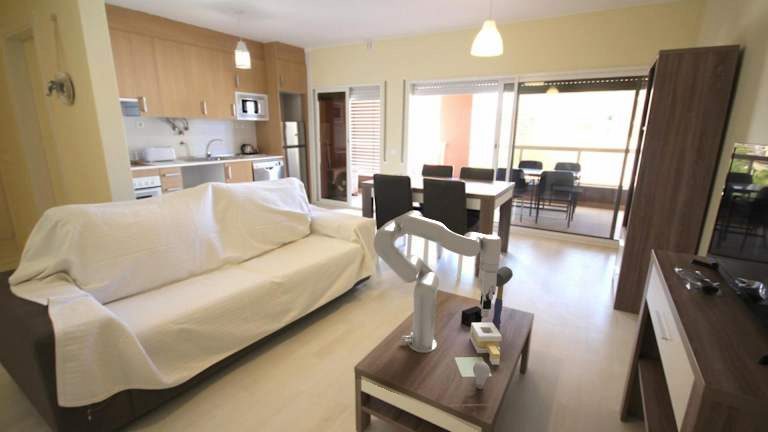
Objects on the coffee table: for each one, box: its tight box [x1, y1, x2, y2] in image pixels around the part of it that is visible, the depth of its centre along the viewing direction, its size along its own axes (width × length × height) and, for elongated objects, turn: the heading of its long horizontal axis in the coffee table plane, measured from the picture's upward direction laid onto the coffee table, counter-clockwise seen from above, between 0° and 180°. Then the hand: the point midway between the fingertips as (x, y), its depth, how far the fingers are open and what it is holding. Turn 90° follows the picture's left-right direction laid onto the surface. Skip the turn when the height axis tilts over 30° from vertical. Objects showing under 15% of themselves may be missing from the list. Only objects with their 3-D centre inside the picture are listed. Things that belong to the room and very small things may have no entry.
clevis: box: [469, 321, 503, 366], centre depth 154 cm, size 10×19×8 cm, turn 3°
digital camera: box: [460, 305, 484, 328], centre depth 178 cm, size 10×5×7 cm, turn 123°
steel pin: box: [481, 292, 490, 319], centre depth 146 cm, size 4×4×14 cm
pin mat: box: [454, 356, 492, 378], centre depth 145 cm, size 12×12×1 cm
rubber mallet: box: [491, 266, 514, 327], centre depth 173 cm, size 12×8×30 cm, turn 141°
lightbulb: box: [473, 361, 491, 390], centre depth 132 cm, size 6×6×11 cm
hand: (485, 306), depth 147 cm, fingers closed on steel pin, 3 cm apart
